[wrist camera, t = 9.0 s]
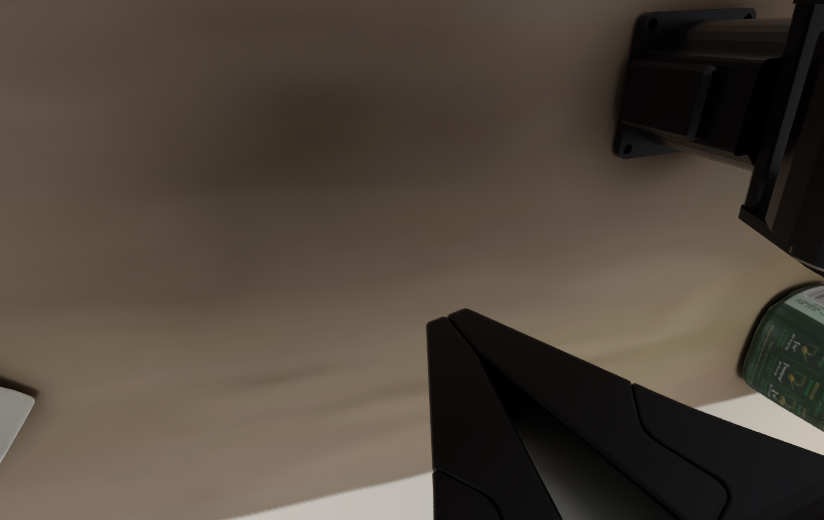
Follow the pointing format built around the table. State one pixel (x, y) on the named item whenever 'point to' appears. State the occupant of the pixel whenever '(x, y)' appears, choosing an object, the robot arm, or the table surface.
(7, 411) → the small box
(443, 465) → the robot arm
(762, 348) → the coffee jar
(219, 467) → the table surface
